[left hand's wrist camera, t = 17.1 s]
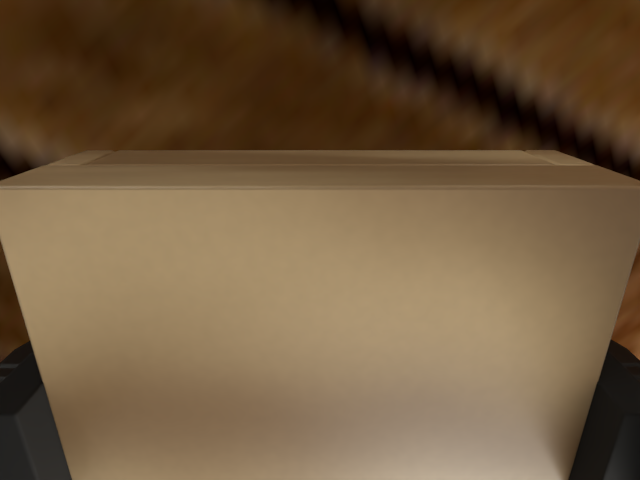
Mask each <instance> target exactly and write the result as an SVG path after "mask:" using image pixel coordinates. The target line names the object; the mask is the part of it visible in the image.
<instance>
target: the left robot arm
mask: <svg viewBox="0 0 640 480" xmlns="http://www.w3.org/2000/svg"><path fill="white" fill-rule="evenodd" d="M0 480H72V478H71V475H70V472H69V468H68V465H67V461H66V458H65V455H64V451H63V448H62V444H61V441H60V438H59V434H58V431H57V427H56V424H55V421H54V417H53V414H52V411H51V407H50V404H49V400H48V397H47V394H46V390H45V387H44V383H43V382H42V379H41V375H40V372H39V368H38V365H37V362H36V358H35V355H34V352H33V348H32V345H31V341H29V342H27V343H26V344H24V345H22V346H20V347H19V348H17V349H15V350H14V351H13V352H12V353H11V354H9V355H8V356H7V357H6V358H5V359H4V360H3V361H2V362H1V363H0ZM569 480H640V360H639V359H637V358H636V357H635V356H634V355H633V354H632V353H631V352H630V351H629V350H628V349H627V348H625V347H623V346H621V345H620V344H618V343H616V342H614V341H613V340H610V343H609V347H608V350H607V353H606V357H605V360H604V364H603V367H602V370H601V374H600V377H599V380H598V382H597V385H596V388H595V392H594V395H593V398H592V402H591V405H590V409H589V412H588V415H587V419H586V422H585V426H584V429H583V432H582V436H581V439H580V443H579V446H578V449H577V453H576V456H575V459H574V463H573V466H572V470H571V473H570V476H569Z"/></svg>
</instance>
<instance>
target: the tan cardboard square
mask: <svg viewBox="0 0 640 480" xmlns="http://www.w3.org/2000/svg"><path fill="white" fill-rule="evenodd" d="M0 240H1V243H2V246H3V250H4V253H5V257H6V260H7V263H8V267H9V270H10V274H11V277H12V280H13V284H14V287H15V291H16V294H17V297H18V301H19V304H20V307H21V311H22V314H23V318H24V321H25V324H26V328H27V331H28V335H29V338H30V341H31V345H32V348H33V352H34V355H35V358H36V362H37V365H38V368H39V372H40V375H41V379H42V382H43V383H44V387H45V390H46V394H47V397H48V400H49V404H50V407H51V411H52V414H53V417H54V421H55V424H56V427H57V431H58V434H59V438H60V441H61V444H62V448H63V451H64V455H65V458H66V461H67V465H68V468H69V472H70V475H71V478H72V480H569V476H570V473H571V470H572V466H573V463H574V459H575V456H576V453H577V449H578V446H579V443H580V439H581V436H582V432H583V429H584V426H585V422H586V419H587V415H588V412H589V409H590V405H591V402H592V398H593V395H594V392H595V388H596V385H597V382H598V380H599V377H600V374H601V370H602V367H603V364H604V360H605V357H606V353H607V350H608V347H609V343H610V340H611V336H612V333H613V330H614V326H615V323H616V320H617V316H618V313H619V309H620V306H621V303H622V299H623V296H624V293H625V289H626V286H627V282H628V279H629V276H630V272H631V269H632V265H633V262H634V259H635V255H636V252H637V249H638V245H639V242H640V181H639V180H636V179H633V178H630V177H627V176H625V175H622V174H619V173H616V172H613V171H611V170H608V169H605V168H602V167H600V166H597V165H593V164H591V163H588V162H585V161H583V160H580V159H577V158H574V157H571V156H569V155H566V154H563V153H560V152H558V151H555V150H528V151H525V152H523V151H521V150H119V151H117V152H114V151H112V150H86V151H84V152H81V153H78V154H75V155H72V156H70V157H67V158H64V159H61V160H59V161H56V162H53V163H50V164H48V165H44V166H41V167H38V168H35V169H33V170H30V171H27V172H24V173H22V174H19V175H16V176H13V177H11V178H8V179H5V180H2V181H0Z"/></svg>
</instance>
